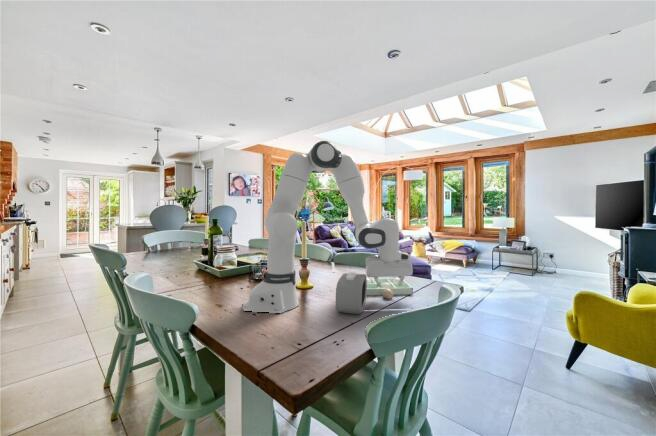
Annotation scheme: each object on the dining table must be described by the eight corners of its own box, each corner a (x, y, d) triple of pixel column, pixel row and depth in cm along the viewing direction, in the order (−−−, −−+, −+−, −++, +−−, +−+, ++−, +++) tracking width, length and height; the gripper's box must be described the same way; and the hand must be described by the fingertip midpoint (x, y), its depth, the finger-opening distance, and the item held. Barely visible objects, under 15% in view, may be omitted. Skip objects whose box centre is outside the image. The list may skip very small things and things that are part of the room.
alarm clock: (361, 319, 100) (361, 283, 99) (335, 316, 102) (335, 281, 102) (366, 299, 120) (367, 269, 119) (345, 298, 122) (345, 268, 122)
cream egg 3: (393, 288, 134) (393, 279, 134) (390, 285, 138) (391, 276, 138) (402, 287, 134) (402, 279, 134) (399, 285, 139) (399, 276, 138)
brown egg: (384, 300, 118) (384, 290, 118) (381, 297, 123) (381, 287, 123) (394, 300, 119) (394, 290, 118) (391, 297, 123) (391, 287, 123)
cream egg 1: (363, 288, 133) (363, 279, 133) (361, 285, 138) (361, 277, 137) (372, 288, 134) (372, 279, 133) (370, 285, 138) (370, 277, 138)
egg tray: (362, 296, 124) (362, 288, 124) (357, 286, 139) (357, 279, 139) (412, 295, 125) (413, 287, 125) (401, 285, 141) (402, 278, 140)
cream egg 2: (382, 293, 126) (382, 284, 126) (379, 290, 131) (379, 281, 130) (391, 293, 126) (391, 283, 126) (389, 290, 131) (389, 281, 131)
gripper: (366, 257, 116) (367, 289, 117) (414, 255, 117) (414, 287, 118) (363, 254, 122) (364, 284, 123) (408, 252, 124) (408, 282, 125)
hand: (389, 286), depth 121 cm, fingers open, 8 cm apart
